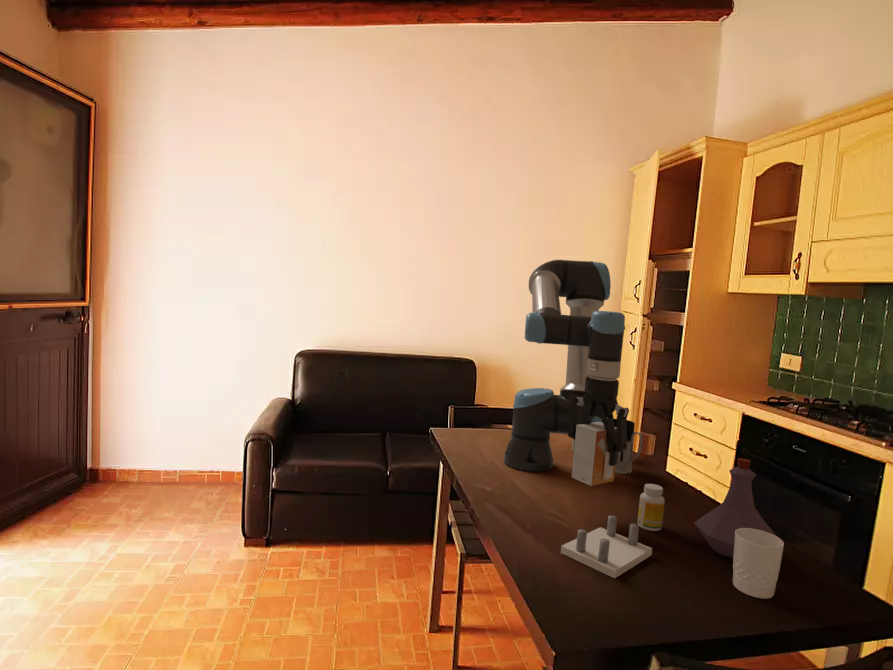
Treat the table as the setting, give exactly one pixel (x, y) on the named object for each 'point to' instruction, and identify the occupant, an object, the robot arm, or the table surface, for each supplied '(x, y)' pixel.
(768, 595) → the white cup
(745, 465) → the flask
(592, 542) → the pin tray
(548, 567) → the table surface
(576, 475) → the small box
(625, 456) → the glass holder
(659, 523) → the supplement bottle
